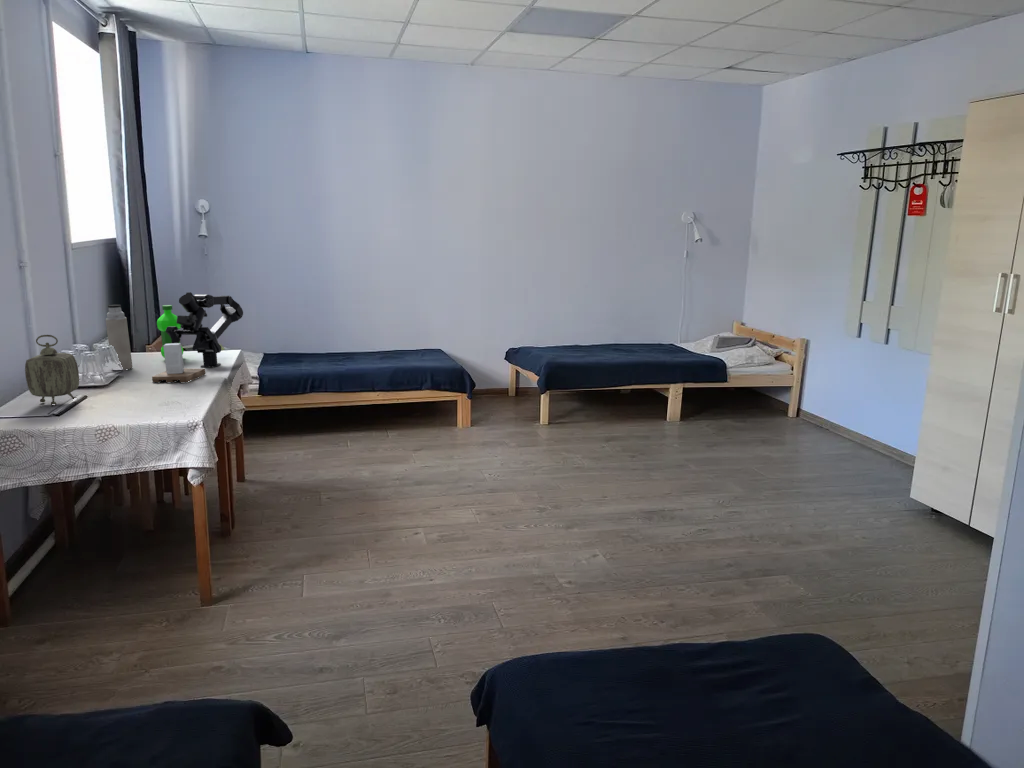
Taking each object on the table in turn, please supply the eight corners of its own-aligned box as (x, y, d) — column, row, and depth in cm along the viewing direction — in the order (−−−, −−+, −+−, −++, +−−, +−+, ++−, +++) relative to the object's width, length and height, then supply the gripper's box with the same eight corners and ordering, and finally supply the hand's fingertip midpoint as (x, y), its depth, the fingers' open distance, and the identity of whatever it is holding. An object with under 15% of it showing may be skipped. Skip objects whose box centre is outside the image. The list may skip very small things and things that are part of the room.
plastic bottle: (157, 359, 344) (151, 305, 339) (180, 356, 351) (175, 303, 346) (164, 362, 337) (158, 307, 332) (188, 359, 344) (182, 305, 338)
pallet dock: (173, 374, 313) (172, 368, 312) (205, 374, 312) (204, 368, 311) (152, 382, 297) (152, 376, 297) (186, 383, 296) (185, 376, 296)
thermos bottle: (113, 367, 326) (105, 304, 320) (134, 366, 329) (126, 303, 322) (110, 371, 319) (102, 306, 312) (131, 370, 321) (123, 305, 315)
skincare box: (184, 371, 306) (181, 342, 303) (182, 373, 302) (179, 344, 299) (168, 372, 305) (165, 343, 302) (166, 374, 301) (162, 345, 298)
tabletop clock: (82, 400, 270) (73, 332, 264) (72, 406, 261) (62, 336, 256) (39, 402, 268) (28, 333, 262) (27, 408, 259) (16, 337, 253)
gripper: (165, 307, 310) (152, 338, 302) (206, 307, 308) (194, 338, 300) (178, 323, 320) (165, 353, 312) (218, 323, 317) (207, 354, 309)
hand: (182, 349), depth 308 cm, fingers open, 9 cm apart
